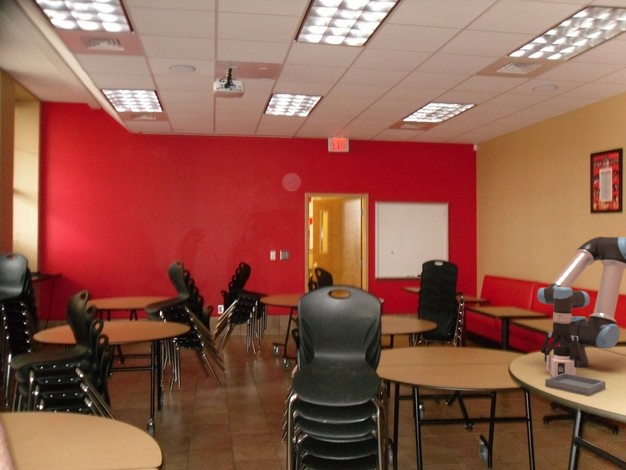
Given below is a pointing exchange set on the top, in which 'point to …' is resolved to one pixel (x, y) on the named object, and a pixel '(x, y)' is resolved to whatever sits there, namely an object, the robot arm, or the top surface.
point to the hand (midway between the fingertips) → (561, 372)
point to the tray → (575, 384)
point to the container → (560, 361)
